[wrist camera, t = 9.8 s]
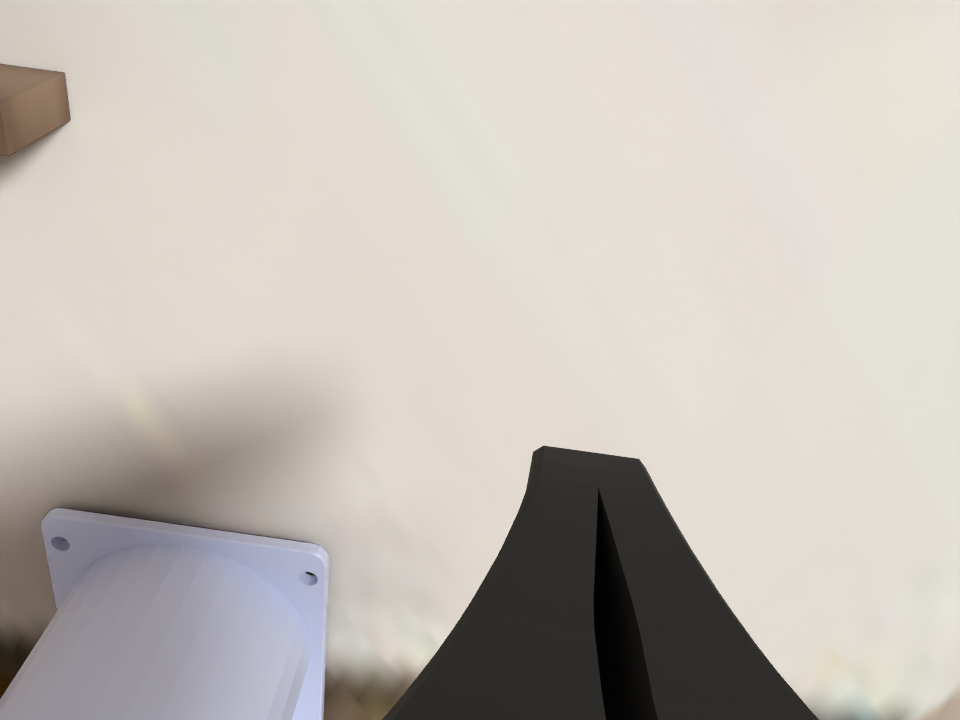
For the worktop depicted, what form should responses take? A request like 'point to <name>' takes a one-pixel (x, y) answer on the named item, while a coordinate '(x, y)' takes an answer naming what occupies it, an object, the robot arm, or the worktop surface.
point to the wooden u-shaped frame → (30, 105)
